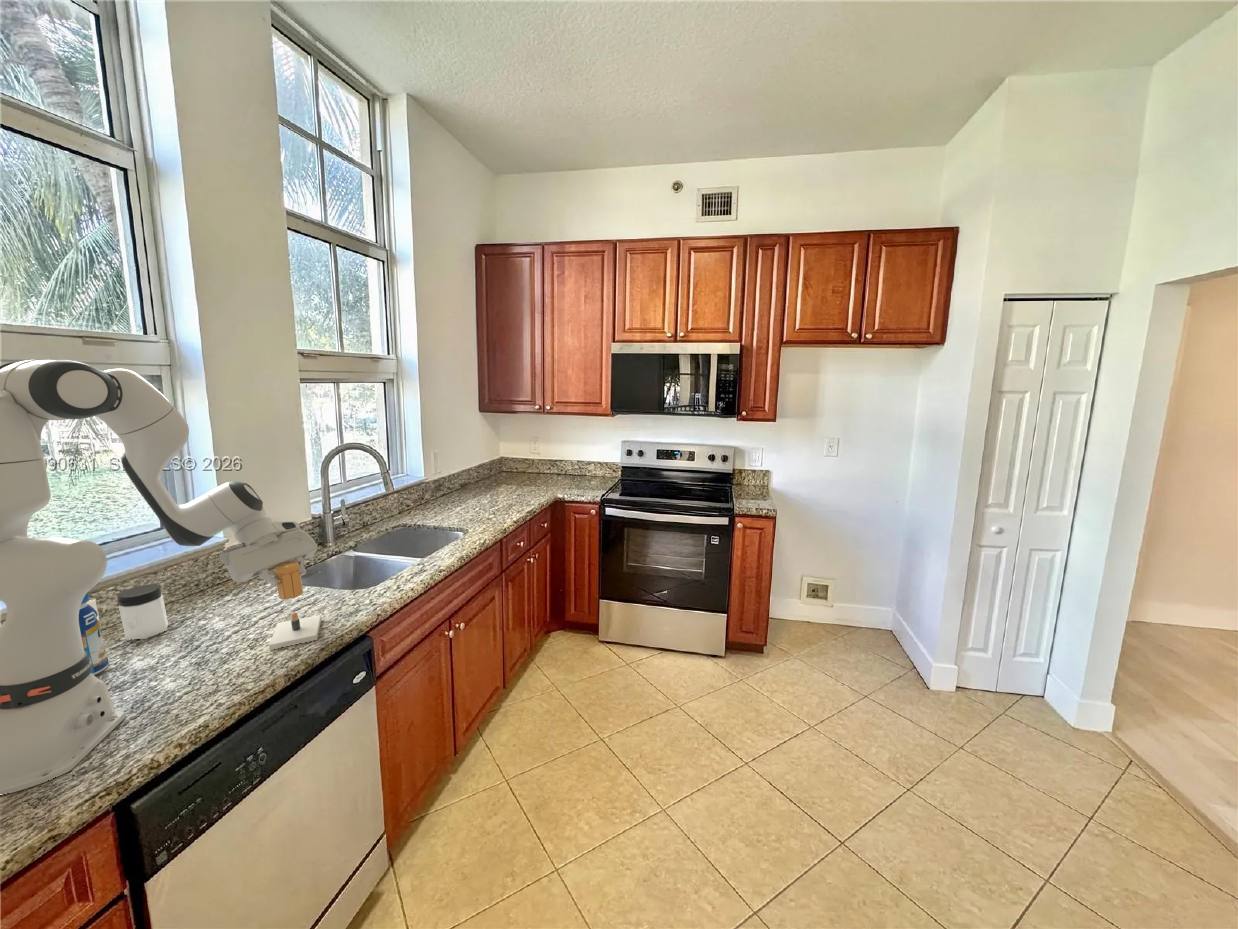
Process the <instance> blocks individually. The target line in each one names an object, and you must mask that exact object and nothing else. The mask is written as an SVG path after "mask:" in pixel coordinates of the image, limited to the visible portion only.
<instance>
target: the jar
mask: <svg viewBox="0 0 1238 929" xmlns="http://www.w3.org/2000/svg"><path fill="white" fill-rule="evenodd" d="M116 598H117V601H118V605H119V606H118V609H119V614H120V619H121V623H122V628H123V632H124V633H123V634H124V637H125V641H135V640H134V639H140V640H147V639H149V637H150V638H152V637H154V636H157V635H159V633H160V634H163V633H164V631H165V632H167V631H168V626H169V621H168V616H167V611H166V606H165V600H164V596H163V592H162V588H161V585H160V584H156V583H155V584H154V583H150V584H149V583H147V584H142V585H137V586H135V587H134V586H133V587H130V588H127V589H125V590H123V591H120V593H118V594H117V597H116ZM131 639H132V640H131Z"/></svg>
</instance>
